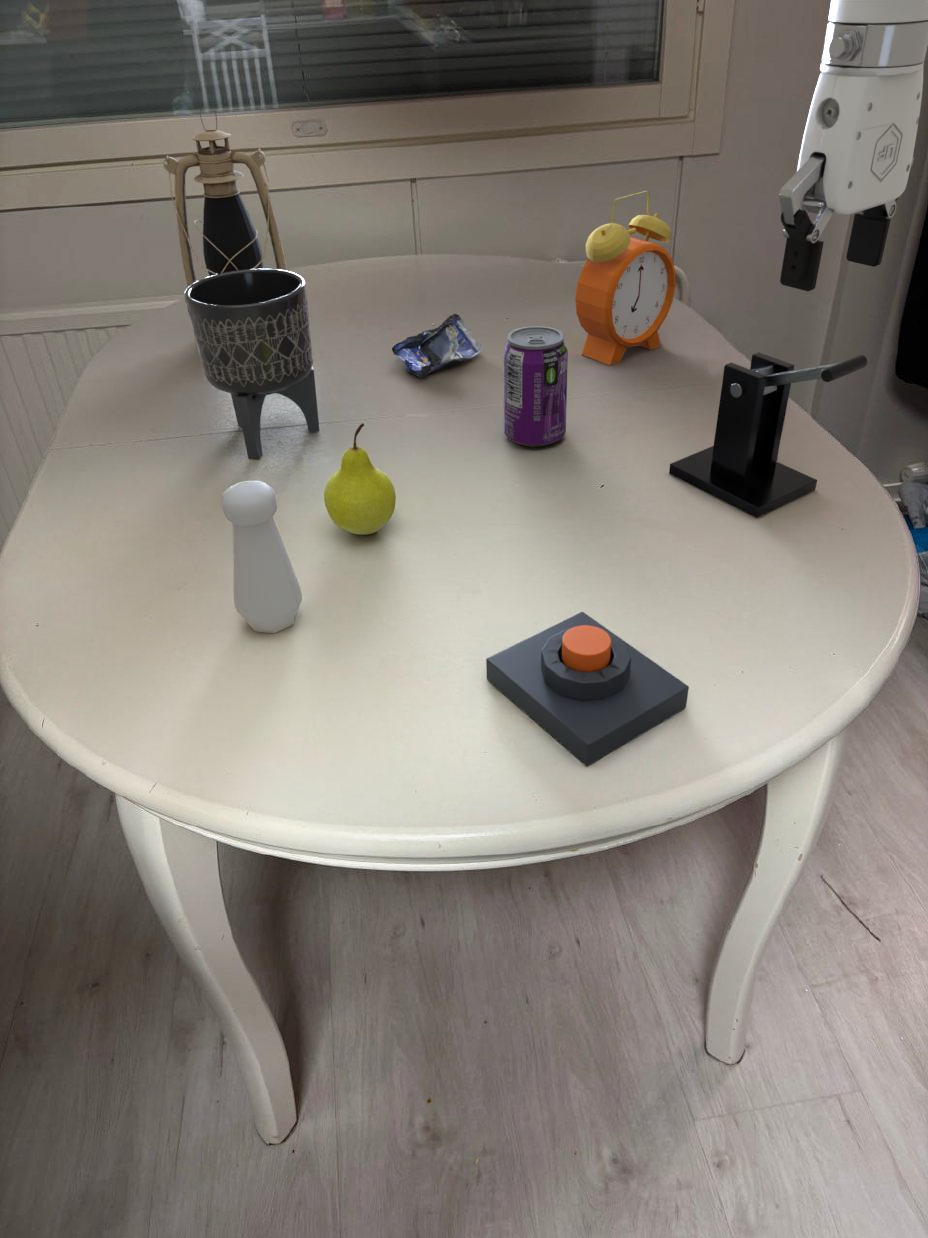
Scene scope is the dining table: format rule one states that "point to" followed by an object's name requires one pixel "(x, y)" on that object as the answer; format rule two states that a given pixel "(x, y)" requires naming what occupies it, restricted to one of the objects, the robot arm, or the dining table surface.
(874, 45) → the robot arm
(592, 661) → the button
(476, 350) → the snack package
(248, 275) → the planter
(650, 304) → the alarm clock
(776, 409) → the switch bracket
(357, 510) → the fruit
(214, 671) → the dining table surface
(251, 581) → the salt shaker
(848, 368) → the switch lever
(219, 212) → the lantern
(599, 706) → the block
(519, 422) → the beverage can
